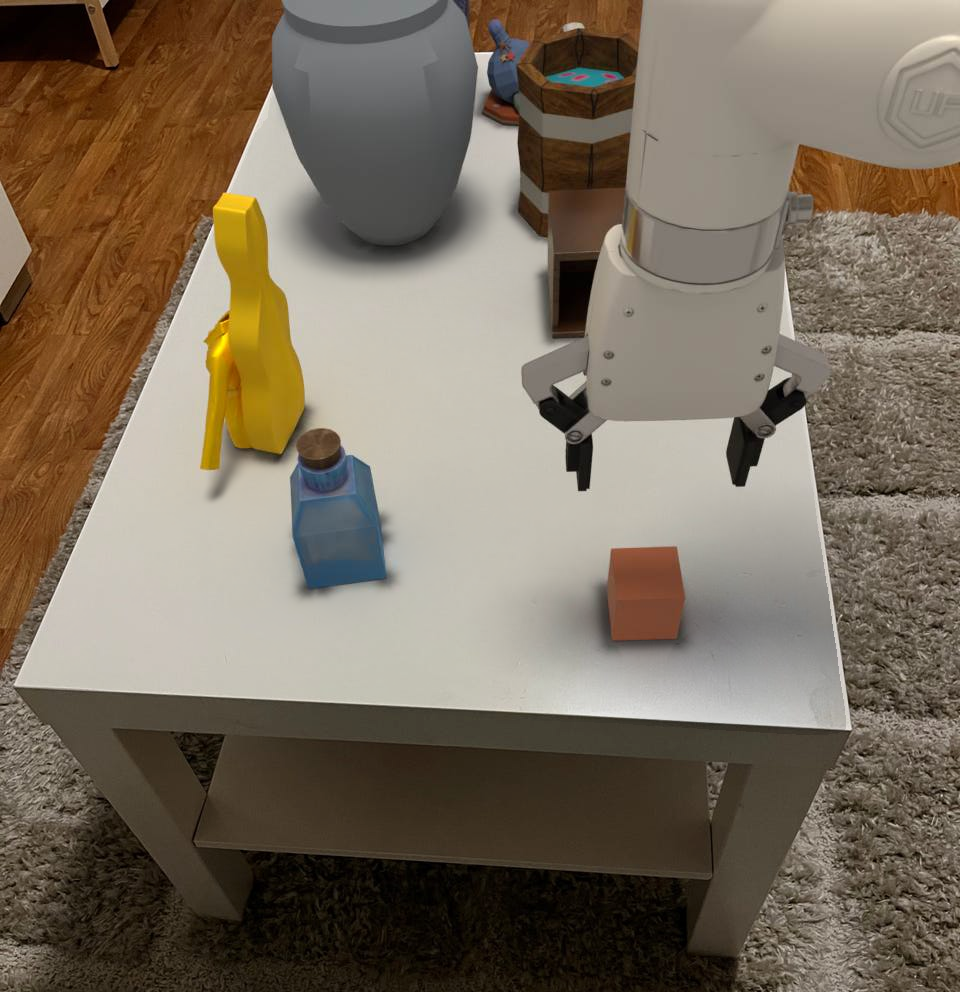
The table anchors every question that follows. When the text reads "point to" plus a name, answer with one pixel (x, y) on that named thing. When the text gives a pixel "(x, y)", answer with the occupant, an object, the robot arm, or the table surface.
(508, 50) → the model
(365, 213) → the vase
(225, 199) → the figure statuette
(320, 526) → the perfume bottle
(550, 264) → the cabinet
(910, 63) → the robot arm
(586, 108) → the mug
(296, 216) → the table surface
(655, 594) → the block
